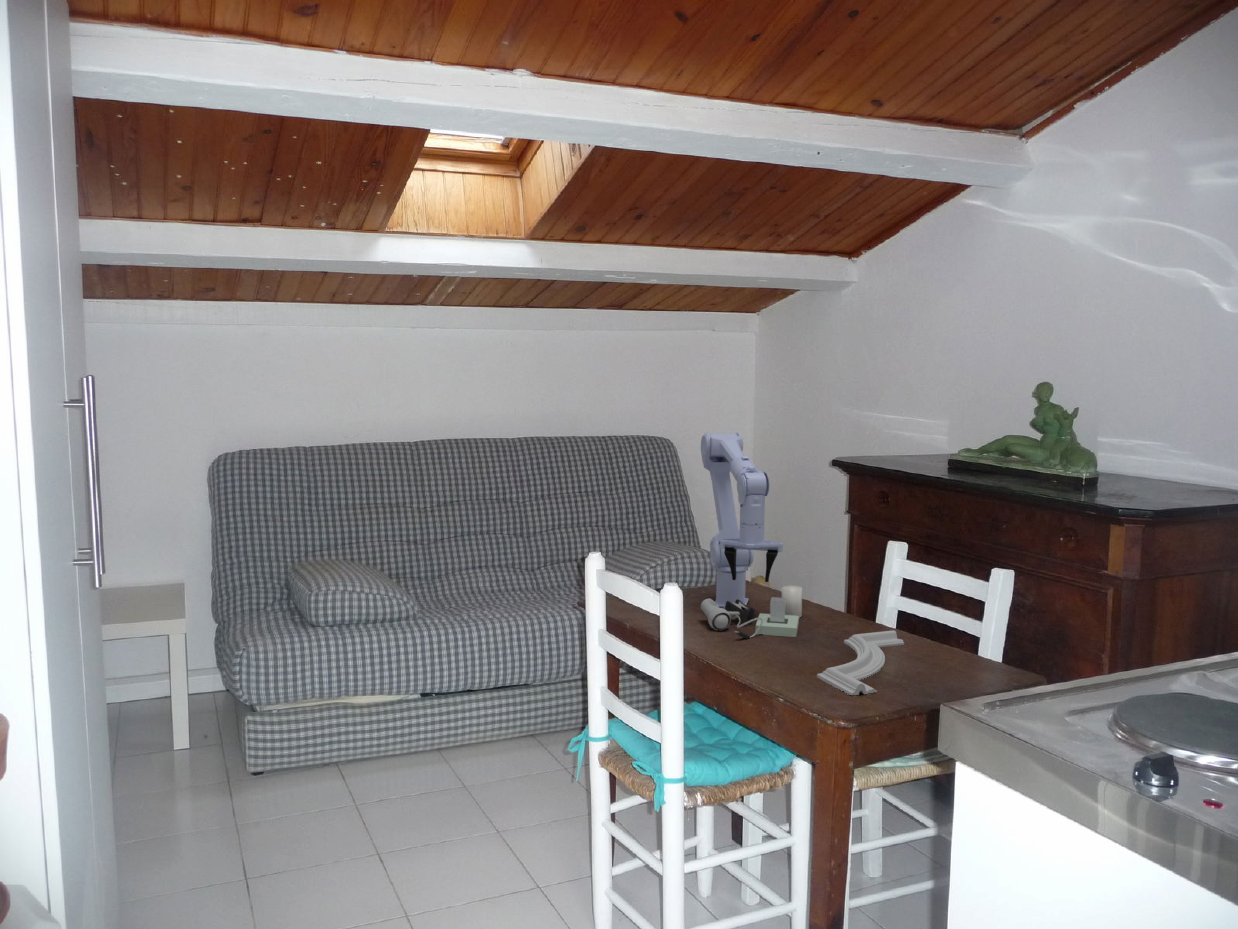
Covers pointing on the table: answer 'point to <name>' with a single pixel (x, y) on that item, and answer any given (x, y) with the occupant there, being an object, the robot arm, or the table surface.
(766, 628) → the socket board
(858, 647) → the molding
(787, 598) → the cream round peg
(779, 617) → the steel square peg
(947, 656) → the table surface
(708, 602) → the clip-on lamp
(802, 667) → the table surface
